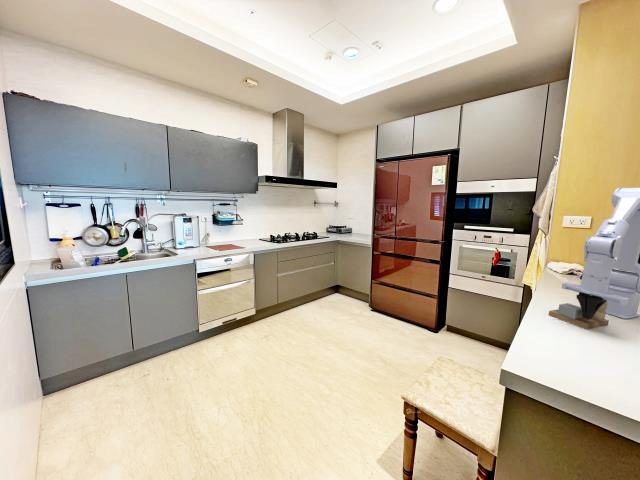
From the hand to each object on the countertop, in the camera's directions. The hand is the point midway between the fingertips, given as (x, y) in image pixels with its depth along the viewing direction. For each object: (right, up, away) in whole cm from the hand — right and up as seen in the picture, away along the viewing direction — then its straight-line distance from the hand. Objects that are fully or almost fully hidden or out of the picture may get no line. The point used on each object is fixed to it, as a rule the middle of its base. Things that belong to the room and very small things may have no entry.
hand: (587, 318), depth 79 cm
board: (+2, -2, +5) cm, 5 cm away
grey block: (-1, 0, +4) cm, 4 cm away
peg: (+5, -1, +2) cm, 6 cm away
